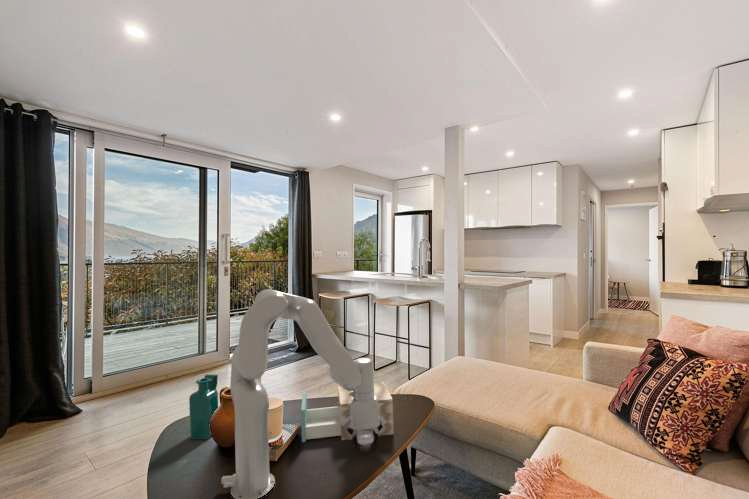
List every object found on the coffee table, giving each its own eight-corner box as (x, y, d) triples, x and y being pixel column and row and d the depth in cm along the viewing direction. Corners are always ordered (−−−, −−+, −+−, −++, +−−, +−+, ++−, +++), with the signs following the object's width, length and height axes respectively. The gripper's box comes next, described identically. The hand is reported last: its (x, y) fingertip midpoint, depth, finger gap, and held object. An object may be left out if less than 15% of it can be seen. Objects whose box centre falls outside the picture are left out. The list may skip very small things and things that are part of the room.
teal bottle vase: (207, 441, 133) (205, 383, 133) (187, 439, 134) (186, 382, 135) (223, 428, 142) (221, 374, 143) (204, 426, 144) (203, 373, 144)
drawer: (301, 442, 128) (300, 410, 128) (303, 419, 145) (303, 391, 146) (355, 436, 131) (354, 404, 131) (351, 414, 149) (350, 386, 149)
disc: (357, 445, 120) (357, 441, 120) (355, 436, 126) (355, 431, 126) (375, 443, 121) (375, 439, 121) (372, 434, 127) (372, 429, 127)
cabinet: (341, 440, 130) (340, 404, 130) (338, 418, 148) (337, 386, 148) (393, 434, 133) (392, 399, 133) (384, 413, 151) (383, 382, 151)
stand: (360, 453, 121) (360, 443, 121) (359, 447, 125) (359, 437, 125) (371, 452, 122) (371, 442, 122) (370, 446, 126) (370, 436, 126)
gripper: (340, 401, 119) (341, 453, 118) (389, 396, 121) (391, 447, 121) (338, 392, 126) (340, 441, 126) (385, 387, 129) (387, 436, 129)
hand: (365, 444), depth 123 cm, fingers closed on disc, 6 cm apart
